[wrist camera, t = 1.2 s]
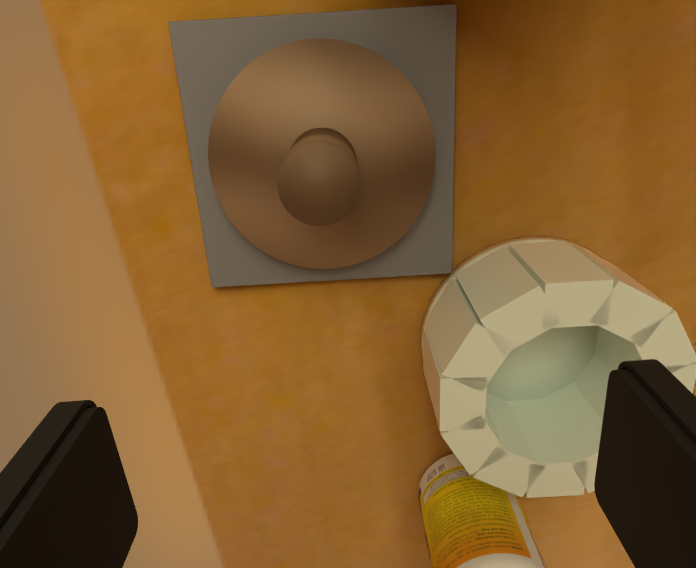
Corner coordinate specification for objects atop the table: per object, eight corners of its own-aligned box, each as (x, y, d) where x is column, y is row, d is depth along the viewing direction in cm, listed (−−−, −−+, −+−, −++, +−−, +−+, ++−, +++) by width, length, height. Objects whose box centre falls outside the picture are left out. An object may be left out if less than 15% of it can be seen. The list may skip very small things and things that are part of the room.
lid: (196, 46, 23) (153, 42, 18) (432, 31, 23) (461, 23, 18) (229, 267, 27) (202, 319, 22) (431, 255, 27) (455, 304, 21)
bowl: (420, 242, 27) (441, 289, 22) (640, 229, 27) (718, 273, 22) (421, 424, 31) (438, 503, 26) (612, 413, 31) (671, 489, 26)
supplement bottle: (397, 482, 33) (421, 652, 24) (470, 430, 32) (526, 588, 22) (455, 532, 35) (499, 710, 25) (526, 484, 33) (601, 654, 24)
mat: (172, 22, 23) (168, 21, 23) (453, 5, 23) (456, 4, 23) (214, 283, 28) (211, 287, 27) (449, 268, 28) (451, 273, 27)
